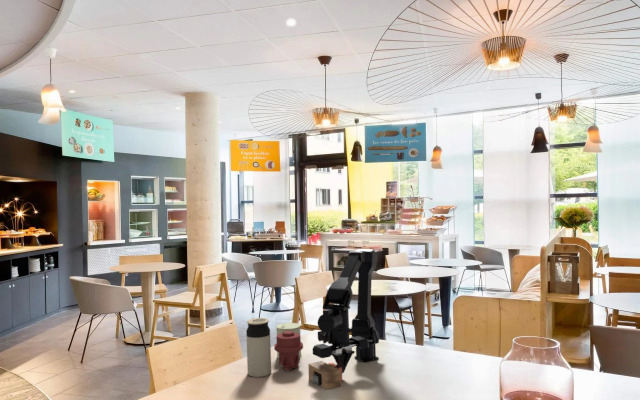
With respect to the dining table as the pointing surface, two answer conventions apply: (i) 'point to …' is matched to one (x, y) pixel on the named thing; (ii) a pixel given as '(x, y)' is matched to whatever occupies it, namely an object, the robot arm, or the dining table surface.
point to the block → (325, 374)
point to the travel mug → (258, 347)
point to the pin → (318, 377)
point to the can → (288, 327)
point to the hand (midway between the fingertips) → (341, 373)
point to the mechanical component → (288, 349)
